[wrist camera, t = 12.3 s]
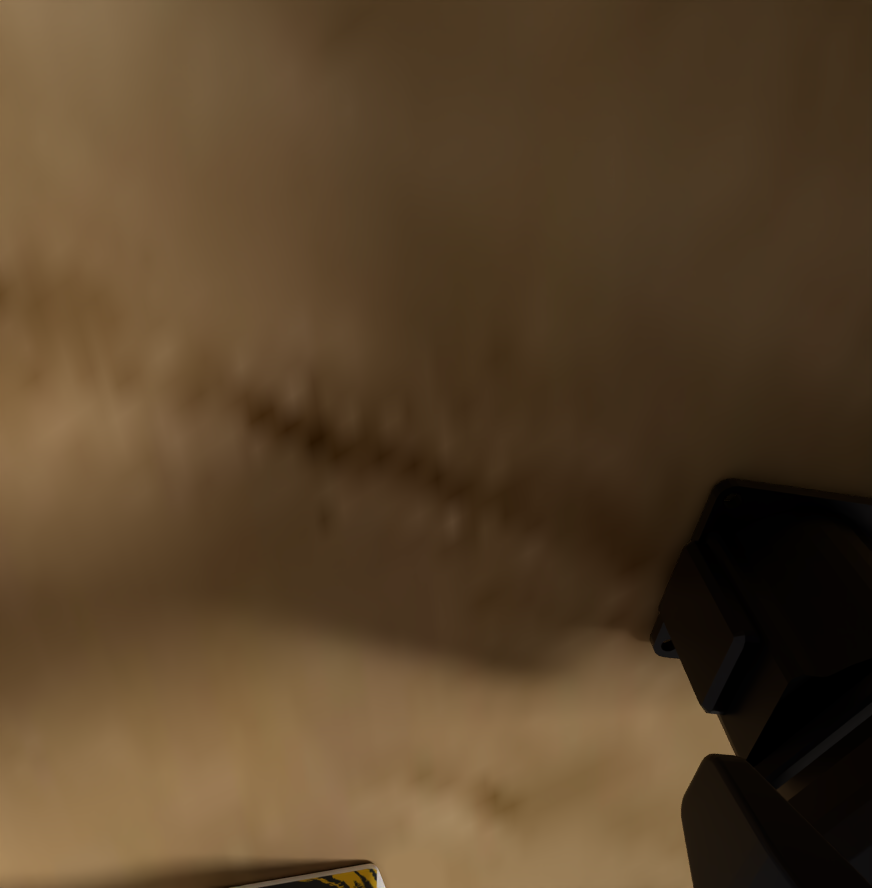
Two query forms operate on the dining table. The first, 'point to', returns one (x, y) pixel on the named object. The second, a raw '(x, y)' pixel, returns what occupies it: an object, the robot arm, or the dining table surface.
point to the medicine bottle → (329, 879)
